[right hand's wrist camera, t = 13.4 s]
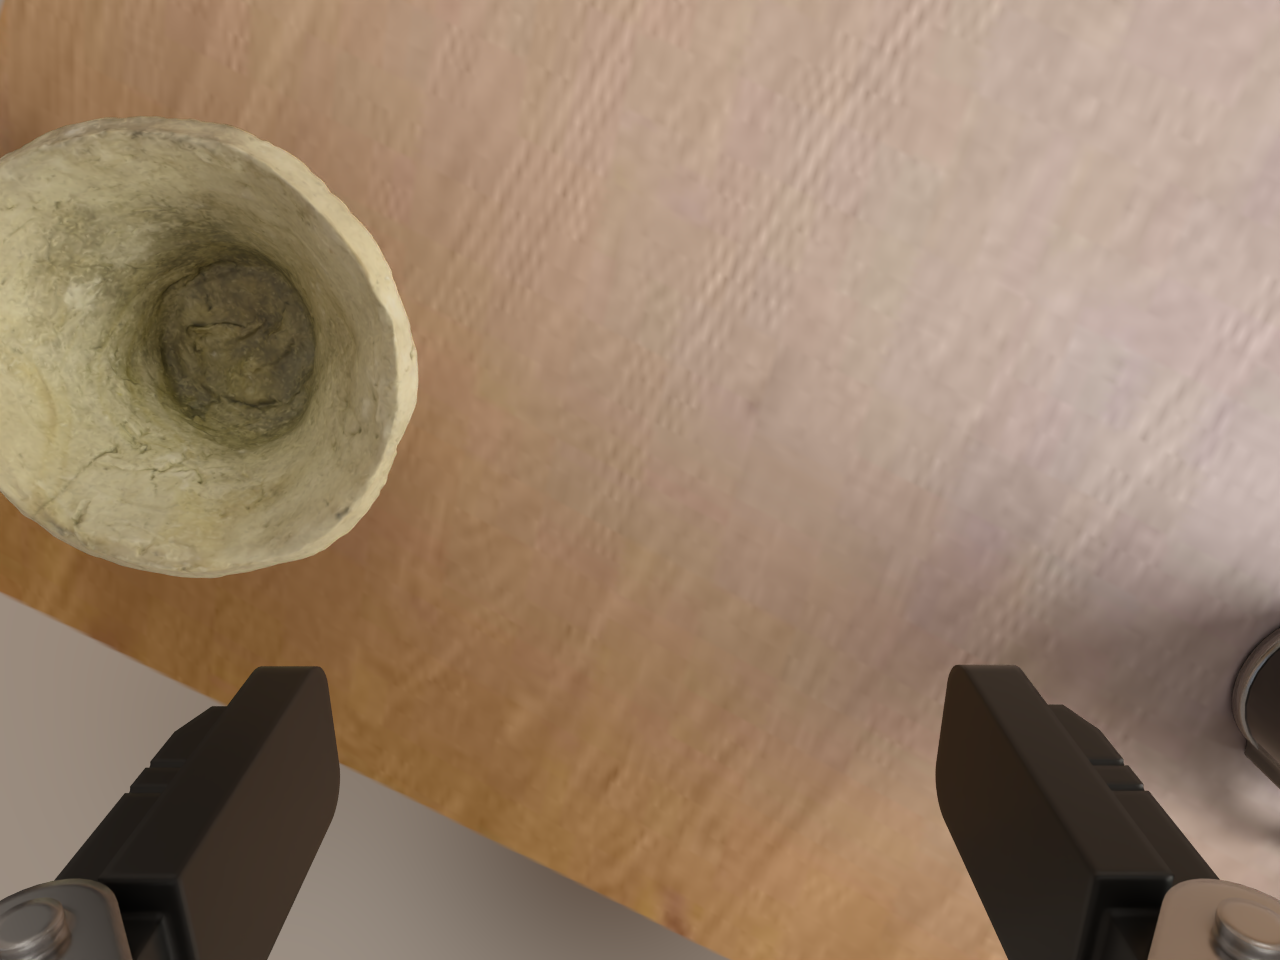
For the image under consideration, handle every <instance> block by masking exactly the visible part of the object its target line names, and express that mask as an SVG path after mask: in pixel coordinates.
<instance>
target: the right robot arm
mask: <svg viewBox="0 0 1280 960" xmlns="http://www.w3.org/2000/svg"><path fill="white" fill-rule="evenodd" d="M1232 710H1233V715H1234V719H1235V722H1236V724H1237V726H1238V728H1239V730H1240V731H1241V733H1242V734H1243V735H1244V737H1245V738H1246V739H1247V746H1246V749H1245V755H1246V756H1247V757H1248V758H1249V759H1250V760H1251V761H1252V762H1253V763H1254V764H1255V765H1256V766H1257V767H1258V768H1259V769H1260V770H1261V771H1262V772H1263V773H1264V774H1265V775H1266V776H1267V777H1268V778H1269V779H1270V780H1271V781H1272V782H1273V783H1274V784H1275V785H1276V786H1277V787H1278V788H1279V789H1280V628H1278V629H1277V630H1275V631H1274V632H1273V633H1271V634H1270V635H1269V636H1268V637H1266V638H1265V639H1264V640H1263V641H1262V642H1261V643H1260V644H1259V645H1258V646H1257V647H1256V648H1255V649H1254V650H1253V652H1252V653H1251V654H1250V655H1249V657H1248V658H1247V660H1246V661H1245V662H1244V664H1243V666H1242V668H1241V669H1240V671H1239V674H1238V676H1237V678H1236V681H1235V685H1234V689H1233V695H1232ZM150 763H151V764H150V768H145V769H144V770H143V772H142V773H141V774H140V775H139V776H138V778H137V779H136V780H135V781H134V783H133V784H132V785H131V786H130V792H129V793H125V794H124V795H123V796H122V797H121V799H120V800H119V801H118V802H117V804H116V805H115V806H114V807H113V809H112V810H111V811H110V812H109V813H108V815H107V816H106V817H105V818H104V820H103V821H102V822H101V823H100V825H99V826H98V827H97V828H96V830H95V831H94V832H93V833H92V834H91V836H90V837H89V838H88V839H87V841H86V842H85V843H84V844H83V846H82V847H81V848H80V849H79V851H78V852H77V853H76V854H75V855H74V857H73V858H72V859H71V860H70V862H69V863H68V864H67V865H66V867H65V868H64V869H63V870H62V872H61V873H60V874H59V875H58V876H57V878H56V879H55V880H54V881H51V882H47V883H43V884H39V885H36V886H33V887H30V888H27V889H24V890H22V891H19V892H17V893H15V894H13V895H11V896H8V897H6V898H4V899H3V900H1V901H0V960H267V959H268V956H269V954H270V952H271V950H272V948H273V946H274V944H275V941H276V939H277V937H278V935H279V933H280V931H281V929H282V926H283V924H284V922H285V920H286V918H287V916H288V913H289V911H290V909H291V907H292V905H293V903H294V901H295V898H296V896H297V894H298V892H299V890H300V888H301V885H302V883H303V881H304V879H305V877H306V875H307V872H308V870H309V868H310V866H311V864H312V862H313V860H314V858H315V855H316V853H317V851H318V849H319V847H320V845H321V843H322V840H323V838H324V836H325V834H326V832H327V830H328V827H329V825H330V823H331V821H332V818H333V816H334V813H335V809H336V805H337V801H338V795H339V786H340V768H339V760H338V753H337V745H336V738H335V731H334V724H333V717H332V710H331V703H330V696H329V689H328V683H327V678H326V675H325V673H324V671H323V669H322V668H320V667H317V666H261V667H258V668H257V669H255V670H254V671H253V673H252V674H251V675H250V676H249V678H248V679H247V680H246V682H245V683H244V684H243V686H242V687H241V688H240V690H239V691H238V692H237V694H236V695H235V696H234V698H233V699H232V700H231V702H230V703H229V704H228V706H212V707H210V708H209V709H207V710H206V711H205V712H203V713H202V714H200V715H199V716H197V717H196V718H194V719H193V720H191V721H190V722H188V723H187V724H185V725H184V726H183V727H181V728H180V729H178V730H177V731H175V732H174V733H173V734H172V736H171V737H170V738H169V739H168V741H167V742H166V743H165V744H164V746H163V747H162V748H161V749H160V751H159V752H158V753H157V754H156V756H155V757H154V758H153V759H152V760H151V762H150ZM936 789H937V796H938V802H939V806H940V810H941V813H942V816H943V818H944V820H945V823H946V825H947V827H948V829H949V831H950V834H951V836H952V838H953V840H954V842H955V844H956V847H957V849H958V851H959V853H960V855H961V857H962V860H963V862H964V864H965V866H966V868H967V871H968V873H969V875H970V877H971V879H972V881H973V884H974V886H975V888H976V890H977V892H978V895H979V897H980V899H981V901H982V903H983V905H984V908H985V910H986V912H987V914H988V916H989V918H990V921H991V923H992V925H993V927H994V929H995V932H996V934H997V936H998V938H999V940H1000V942H1001V945H1002V947H1003V949H1004V951H1005V953H1006V956H1007V958H1008V960H1280V901H1279V900H1277V899H1276V898H1274V897H1272V896H1270V895H1267V894H1265V893H1263V892H1261V891H1258V890H1256V889H1253V888H1250V887H1247V886H1244V885H1241V884H1237V883H1233V882H1229V881H1224V880H1220V879H1219V878H1218V877H1217V876H1216V874H1215V873H1214V872H1213V871H1212V869H1211V868H1210V867H1209V866H1208V864H1207V863H1206V862H1205V861H1204V859H1203V858H1202V857H1201V856H1200V854H1199V853H1198V852H1197V851H1196V849H1195V848H1194V847H1193V846H1192V844H1191V843H1190V842H1189V841H1188V839H1187V838H1186V837H1185V836H1184V834H1183V833H1182V832H1181V831H1180V829H1179V828H1178V827H1177V826H1176V824H1175V823H1174V822H1173V821H1172V819H1171V818H1170V817H1169V816H1168V814H1167V813H1166V812H1165V811H1164V809H1163V808H1162V807H1161V806H1160V805H1159V803H1158V802H1157V801H1156V800H1155V798H1154V797H1153V796H1152V795H1151V793H1150V792H1149V791H1144V788H1143V783H1142V782H1141V781H1140V780H1139V778H1138V777H1137V776H1136V775H1135V773H1134V772H1133V771H1132V770H1131V768H1130V767H1129V766H1124V763H1123V758H1122V757H1121V756H1120V755H1119V753H1118V752H1117V751H1116V750H1115V748H1114V747H1113V746H1112V745H1111V743H1110V742H1109V741H1108V740H1107V738H1106V737H1105V736H1104V735H1103V733H1102V732H1101V731H1100V730H1099V729H1098V728H1096V727H1095V726H1093V725H1092V724H1090V723H1089V722H1087V721H1086V720H1084V719H1083V718H1081V717H1080V716H1079V715H1077V714H1076V713H1074V712H1073V711H1071V710H1070V709H1068V708H1067V707H1065V706H1064V705H1047V703H1046V702H1045V701H1044V699H1043V698H1042V697H1041V695H1040V694H1039V693H1038V691H1037V690H1036V689H1035V687H1034V686H1033V685H1032V683H1031V682H1030V680H1029V679H1028V678H1027V676H1026V675H1025V674H1024V672H1023V671H1022V670H1021V669H1020V668H1019V667H1018V666H1016V665H955V666H954V667H953V668H952V670H951V672H950V674H949V677H948V682H947V689H946V696H945V704H944V711H943V718H942V725H941V732H940V740H939V747H938V754H937V761H936Z"/></svg>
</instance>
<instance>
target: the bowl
mask: <svg viewBox="0 0 1280 960" xmlns="http://www.w3.org/2000/svg"><path fill="white" fill-rule="evenodd" d="M417 389H418V363H417V351H416V347H415V344H414V341H413V339H412V334H411V330H410V323H409V320H408V317H407V314H406V311H405V309H404V306H403V303H402V301H401V298H400V296H399V294H398V291H397V287H396V284H395V282H394V280H393V277H392V272H391V269H390V267H389V265H388V263H387V262H386V260H385V258H384V256H383V254H382V252H381V250H380V248H379V246H378V244H377V243H376V241H375V240H374V238H373V237H372V235H371V234H370V233H369V231H368V230H367V229H366V228H365V226H364V225H363V224H362V223H361V222H360V221H359V220H358V219H357V218H356V217H355V216H354V215H352V214H351V212H350V211H349V209H348V207H347V206H346V205H345V204H344V203H343V202H342V201H341V200H340V199H339V198H338V197H336V196H335V195H334V194H332V193H331V192H330V191H329V189H328V188H327V186H326V185H325V183H324V182H323V181H322V180H321V179H320V178H318V177H317V176H315V175H314V174H313V173H312V172H311V171H310V170H309V168H308V167H307V166H306V165H305V164H304V163H303V162H301V161H300V160H299V159H298V158H296V157H295V156H293V155H291V154H290V153H288V152H286V151H285V150H283V149H281V148H279V147H276V146H274V145H272V144H271V143H270V142H268V141H264V140H261V139H259V138H257V137H256V136H255V135H253V134H251V133H248V132H246V131H244V130H242V129H240V128H237V127H234V126H231V125H227V124H218V123H212V122H203V121H199V120H194V119H177V118H163V117H158V116H154V117H146V116H137V117H128V118H116V117H111V118H100V119H95V120H90V121H86V122H82V123H77V124H72V125H67V126H64V127H61V128H58V129H56V130H52V131H50V132H48V133H46V134H44V135H42V136H40V137H38V138H36V139H35V140H33V141H32V142H30V143H28V144H26V145H24V146H23V147H22V148H21V149H17V150H15V151H13V152H10V153H7V154H6V155H4V156H3V157H2V158H0V491H1V492H2V493H3V495H4V496H5V497H6V498H7V499H8V500H9V501H10V502H11V503H12V504H13V505H14V506H15V507H16V508H17V509H18V510H19V511H20V512H21V513H22V514H23V515H24V516H26V517H28V518H30V519H32V520H33V521H35V522H37V523H38V524H39V525H40V526H42V527H43V528H44V529H46V530H47V531H48V532H49V533H51V534H52V535H53V536H54V537H56V538H58V539H59V540H62V541H64V542H65V543H67V544H69V545H71V546H73V547H75V548H77V549H79V550H81V551H83V552H85V553H87V554H89V555H92V556H95V557H100V558H103V559H105V560H108V561H111V562H114V563H116V564H118V565H122V566H126V567H130V568H134V569H138V570H144V571H149V572H155V573H161V574H166V575H171V576H178V577H190V578H217V577H222V576H225V575H230V574H237V573H244V572H250V571H254V570H257V569H261V568H266V567H269V566H273V565H276V564H280V563H286V562H290V561H296V560H300V559H304V558H307V557H309V556H313V555H315V554H317V553H318V552H320V551H323V550H325V549H326V548H328V547H329V546H330V545H331V544H332V543H334V542H335V541H336V540H337V539H339V538H340V537H342V536H343V535H345V534H347V533H348V532H349V531H350V530H351V529H352V528H353V527H354V526H355V525H356V524H357V523H358V521H359V520H360V519H361V518H362V517H363V516H364V515H365V514H366V513H367V512H368V510H369V509H370V507H371V506H372V504H373V503H374V501H375V500H376V499H377V497H378V496H379V494H380V490H381V489H382V488H383V486H384V485H385V484H386V481H387V478H388V477H387V475H388V473H389V471H390V469H391V466H392V464H393V461H394V458H395V456H396V455H397V451H396V449H397V445H398V444H399V441H400V440H401V438H402V436H403V434H404V433H405V430H406V427H407V425H408V423H409V421H410V419H411V416H412V414H413V411H414V409H415V406H416V403H417Z"/></svg>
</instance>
